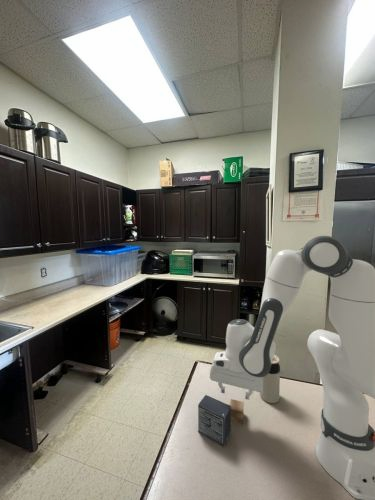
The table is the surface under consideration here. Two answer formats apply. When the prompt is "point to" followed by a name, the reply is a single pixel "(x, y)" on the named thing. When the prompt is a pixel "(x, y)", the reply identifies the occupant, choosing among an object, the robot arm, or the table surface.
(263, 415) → the table surface
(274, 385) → the travel mug
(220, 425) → the small box
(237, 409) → the tan cube
